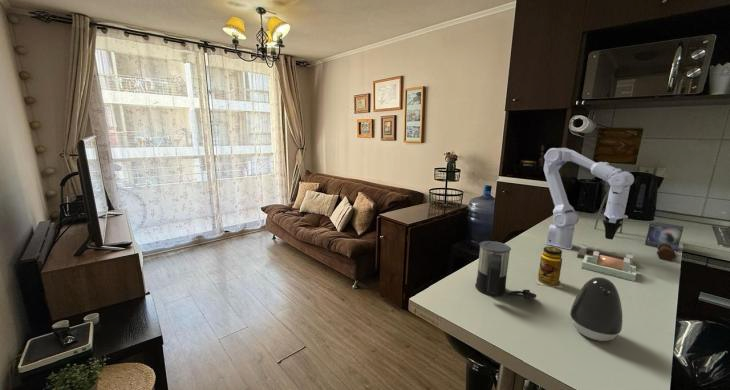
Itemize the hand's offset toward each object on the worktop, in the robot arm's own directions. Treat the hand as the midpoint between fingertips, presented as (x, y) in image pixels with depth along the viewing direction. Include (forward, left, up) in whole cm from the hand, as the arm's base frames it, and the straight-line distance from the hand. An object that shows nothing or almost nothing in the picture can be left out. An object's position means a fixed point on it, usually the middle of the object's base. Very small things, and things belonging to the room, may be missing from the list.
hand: (609, 236), depth 117 cm
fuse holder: (0, 0, -10) cm, 10 cm away
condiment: (-14, -36, -10) cm, 40 cm away
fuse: (+2, -12, -9) cm, 15 cm away
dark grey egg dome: (0, -60, -10) cm, 61 cm away
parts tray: (+1, -12, -10) cm, 15 cm away
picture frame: (+18, +36, -10) cm, 41 cm away
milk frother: (-23, -55, -10) cm, 60 cm away
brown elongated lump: (+19, +23, -10) cm, 32 cm away
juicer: (-1, +43, -10) cm, 44 cm away
